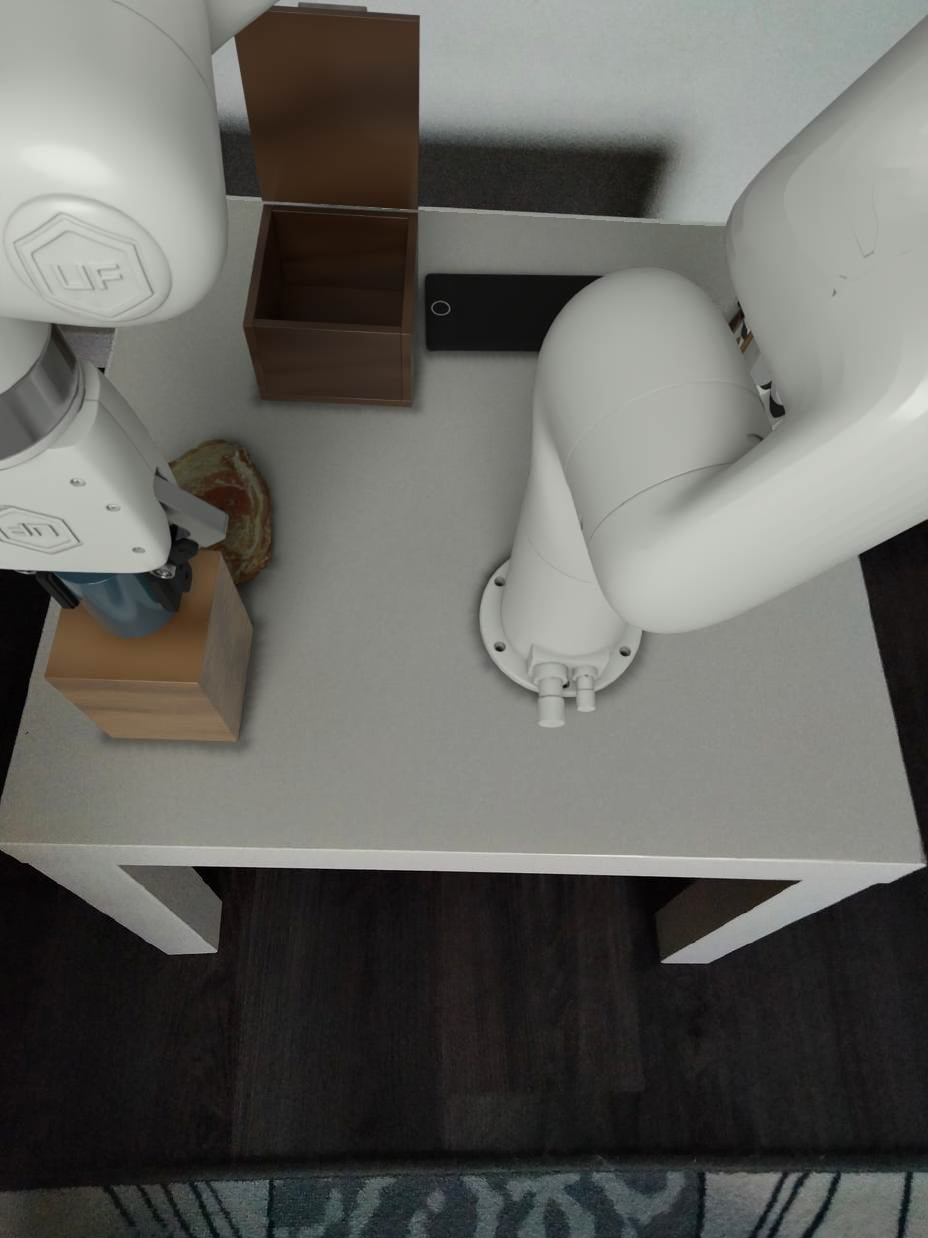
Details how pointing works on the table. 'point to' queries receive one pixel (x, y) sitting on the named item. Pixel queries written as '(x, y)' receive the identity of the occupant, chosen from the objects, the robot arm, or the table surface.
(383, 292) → the wooden box
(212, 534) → the robot arm
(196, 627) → the stand
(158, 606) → the blue glossy cylinder
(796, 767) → the table surface
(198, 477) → the stone
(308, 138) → the lid
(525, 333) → the cell phone
